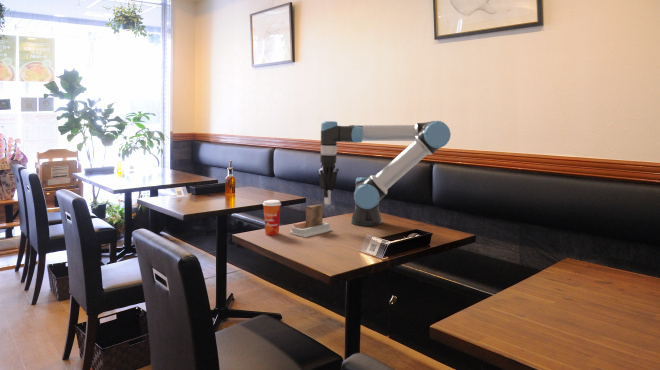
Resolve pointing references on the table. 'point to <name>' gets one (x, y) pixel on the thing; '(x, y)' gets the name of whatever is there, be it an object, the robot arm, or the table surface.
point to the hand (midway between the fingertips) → (327, 203)
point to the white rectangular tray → (309, 229)
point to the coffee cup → (272, 216)
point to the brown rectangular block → (314, 215)
